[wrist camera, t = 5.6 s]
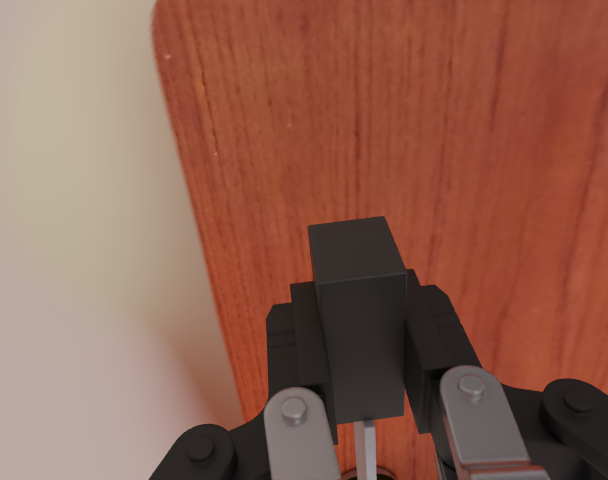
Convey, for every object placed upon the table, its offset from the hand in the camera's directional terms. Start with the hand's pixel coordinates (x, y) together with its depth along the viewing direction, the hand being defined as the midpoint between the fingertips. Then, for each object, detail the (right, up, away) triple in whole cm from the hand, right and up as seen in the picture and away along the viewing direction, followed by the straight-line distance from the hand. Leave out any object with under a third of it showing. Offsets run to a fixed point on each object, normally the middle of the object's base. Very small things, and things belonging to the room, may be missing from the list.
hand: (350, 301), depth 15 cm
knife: (0, -4, +3) cm, 5 cm away
